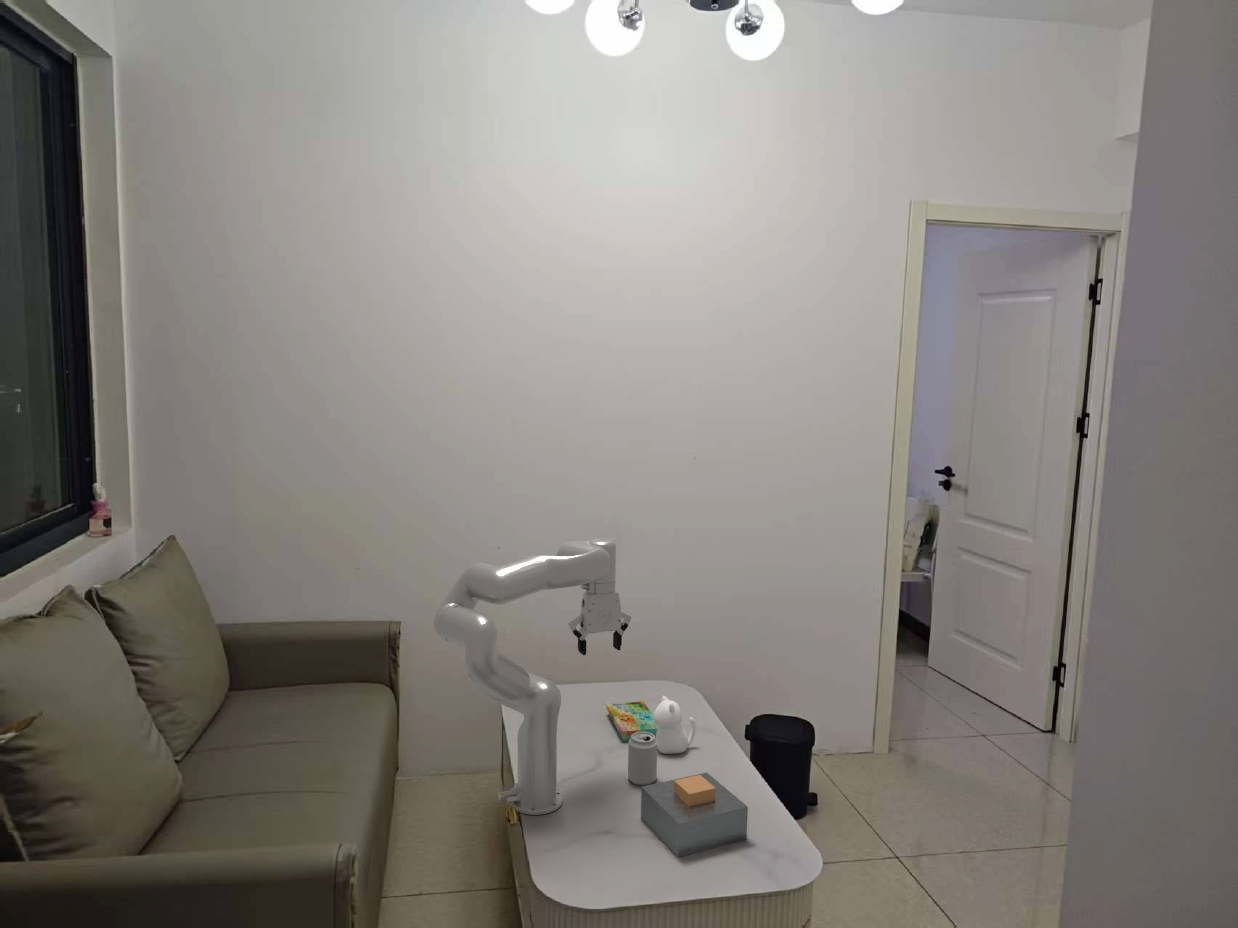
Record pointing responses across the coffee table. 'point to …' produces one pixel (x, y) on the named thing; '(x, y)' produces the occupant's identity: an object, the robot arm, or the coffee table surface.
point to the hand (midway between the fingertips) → (599, 651)
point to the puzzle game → (632, 718)
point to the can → (642, 758)
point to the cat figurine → (671, 728)
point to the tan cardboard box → (694, 790)
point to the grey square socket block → (693, 818)
